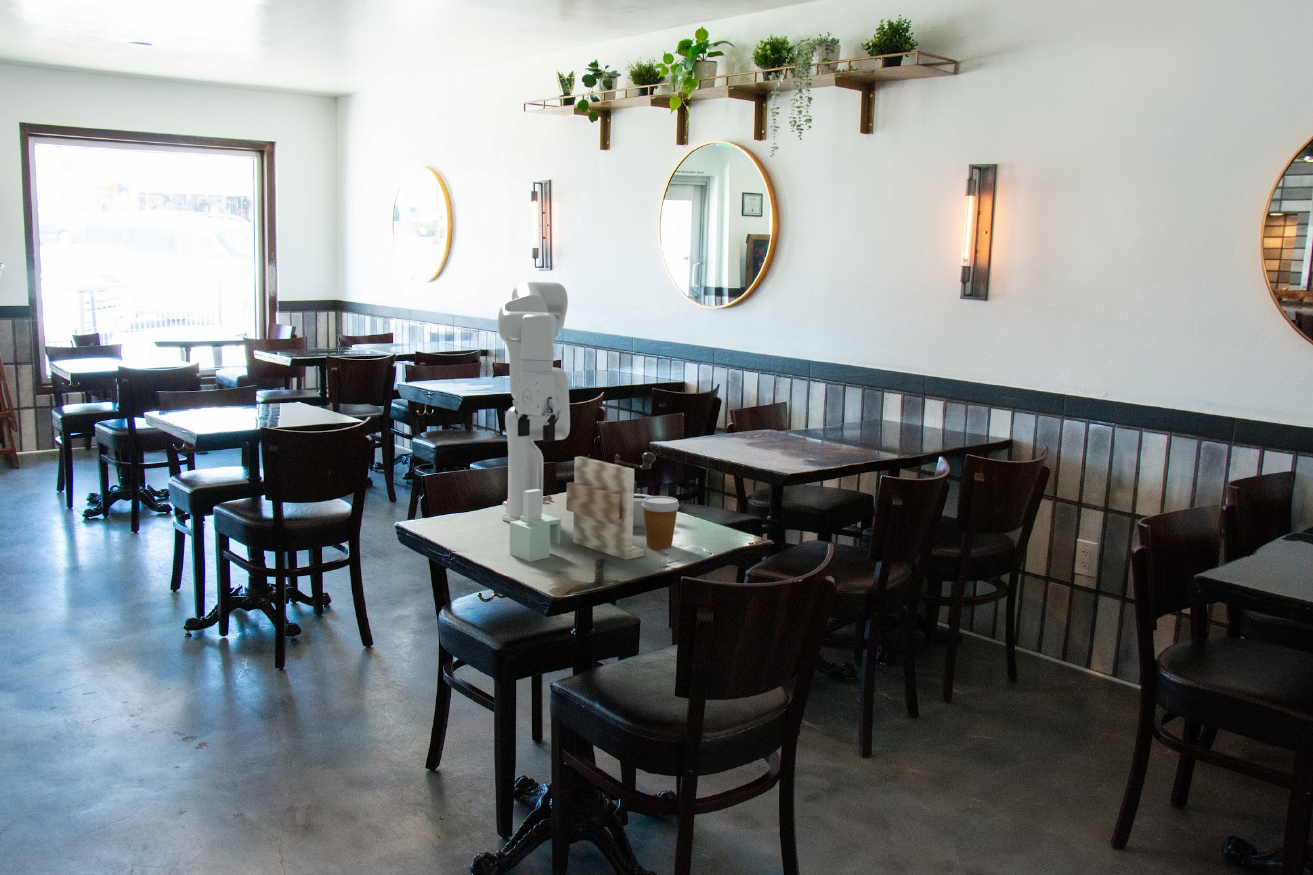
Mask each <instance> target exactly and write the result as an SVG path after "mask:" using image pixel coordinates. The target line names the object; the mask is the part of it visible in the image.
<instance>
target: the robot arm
mask: <svg viewBox="0 0 1313 875" xmlns="http://www.w3.org/2000/svg"><path fill="white" fill-rule="evenodd" d="M568 297H569V296H568V294H567V290H566V288H565V287H564V286H563V285H562V284H561V283H559V282H551V281H550V282H547V281H546V282H544V281H542V282H541V281H526V282H520V283H519V284H518V285H516V286H515V287H514V289H513V291H512V295H511V300H509V301H507V302H505V303H504V304H503V305H502V306H501V307H500V308H499V311H498V314H497V315H498V317H497V326H498V333H499V337H500V339H501V340H502V341H503V342H505V344H506V346H507V347H506V348H507V350H508V356H509V387H510V388H509V389H510V394H511V397H512V398H513V399H512V405H513V406H511V407H510V408H508V410H507V411H506V413H505V418H504V420H505V421H504V422H505V423H504V424H505V425H504V426H505V429H506V431H505V432H506V438H507V452H508V453H507V461H508V463H507V473H508V475H507V477H508V478H507V499H506V501H503V502H502V506H503V507H505V508H506V511H505V512H503V513H502V514H501V519H502V520H503V521H505V522H508V523H510V522H513V521H519V520H520V516H523V491H526V490H533V489H539V490H542V513H543V514H546V515H549V514H548V513H547V512H546V511H543V509H544V508H543V507H544V505H543V504H544V501H543V500H544V456H543V453H542V450H541V449H540V448H539V447H538V446H537V445H536V444H535V442H534V441H542V442H543V443H549V442H555V441H559V440H560V441H562V440H565V439H567V437H568V436H569V434H570V428H571V415H570V414H571V412H570V390H569V379H568V376H567V373H566V371H565V370H564V369H563V368H560V367H554V341H555V340H556V338H557V337H558V335H559V333H560V332H561V331H562V330H563V329H564V325H565V320H566V317H567V316H566V315H567V311H568V302H569V301H568V300H569V299H568Z"/></svg>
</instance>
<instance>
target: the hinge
mask: <svg viewBox="0 0 1313 875" xmlns="http://www.w3.org/2000/svg"><path fill="white" fill-rule="evenodd" d="M651 496H652V495H649V494H644V493H643V494H642V493H637V494H634V502H633V527H645V520H644V510H643V506H642V503H643V500H644V498H646V497H651Z"/></svg>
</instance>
